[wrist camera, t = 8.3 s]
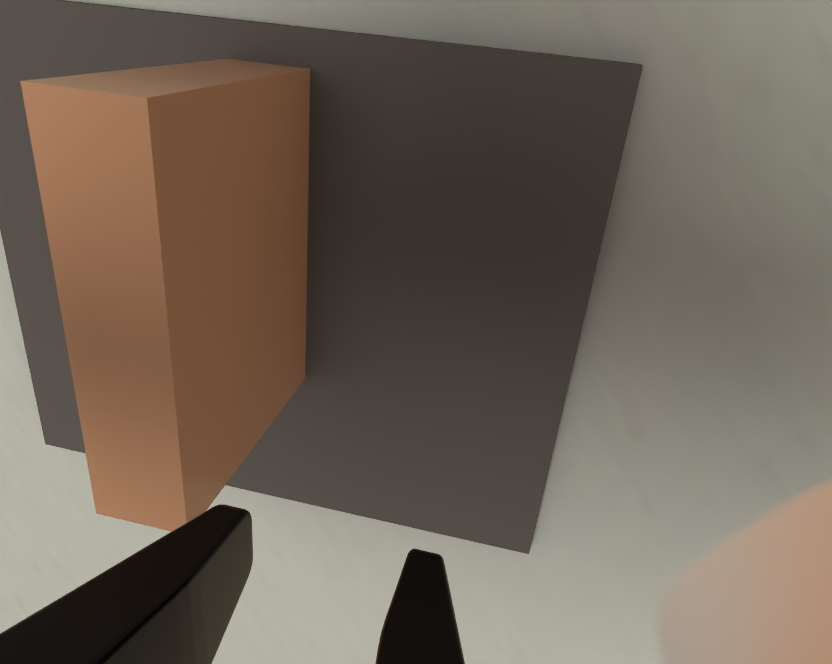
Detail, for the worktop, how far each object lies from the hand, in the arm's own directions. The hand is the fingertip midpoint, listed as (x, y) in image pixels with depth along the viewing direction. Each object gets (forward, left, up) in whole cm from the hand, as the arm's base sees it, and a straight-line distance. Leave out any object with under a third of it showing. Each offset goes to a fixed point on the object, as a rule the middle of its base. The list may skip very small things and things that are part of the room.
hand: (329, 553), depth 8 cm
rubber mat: (+5, +2, -11) cm, 12 cm away
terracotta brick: (+5, 0, -11) cm, 12 cm away
